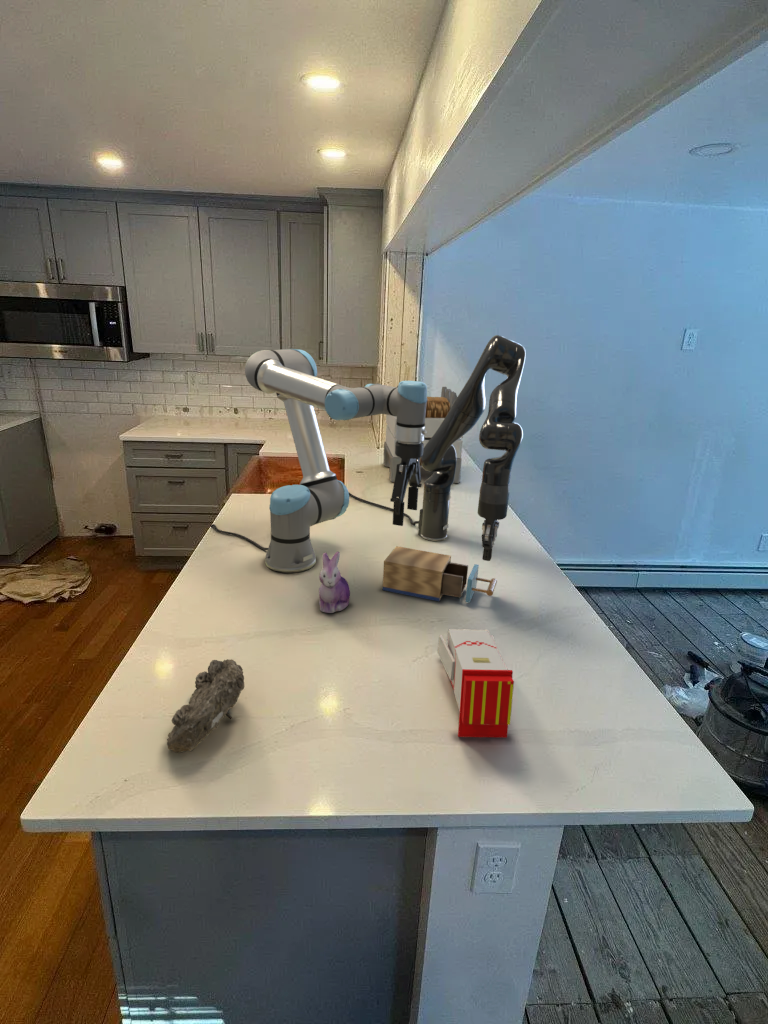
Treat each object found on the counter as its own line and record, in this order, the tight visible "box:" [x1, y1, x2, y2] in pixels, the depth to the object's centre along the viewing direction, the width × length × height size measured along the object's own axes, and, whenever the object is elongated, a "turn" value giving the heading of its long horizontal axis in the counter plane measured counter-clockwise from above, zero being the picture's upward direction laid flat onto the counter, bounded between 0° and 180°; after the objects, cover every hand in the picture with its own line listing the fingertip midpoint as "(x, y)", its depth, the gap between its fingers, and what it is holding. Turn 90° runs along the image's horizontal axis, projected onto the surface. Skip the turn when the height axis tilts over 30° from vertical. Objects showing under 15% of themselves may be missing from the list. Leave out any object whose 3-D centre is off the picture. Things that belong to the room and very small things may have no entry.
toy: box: [437, 628, 515, 738], centre depth 117 cm, size 12×13×30 cm
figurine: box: [318, 551, 351, 614], centre depth 147 cm, size 9×10×15 cm
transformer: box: [383, 385, 464, 484], centre depth 268 cm, size 34×33×41 cm
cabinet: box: [381, 545, 452, 602], centre depth 161 cm, size 16×11×9 cm
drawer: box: [441, 561, 498, 604], centre depth 157 cm, size 21×10×7 cm, turn 71°
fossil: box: [166, 658, 245, 754], centre depth 106 cm, size 22×10×15 cm
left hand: (405, 516), depth 157 cm, fingers open, 13 cm apart
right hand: (486, 559), depth 153 cm, fingers closed
